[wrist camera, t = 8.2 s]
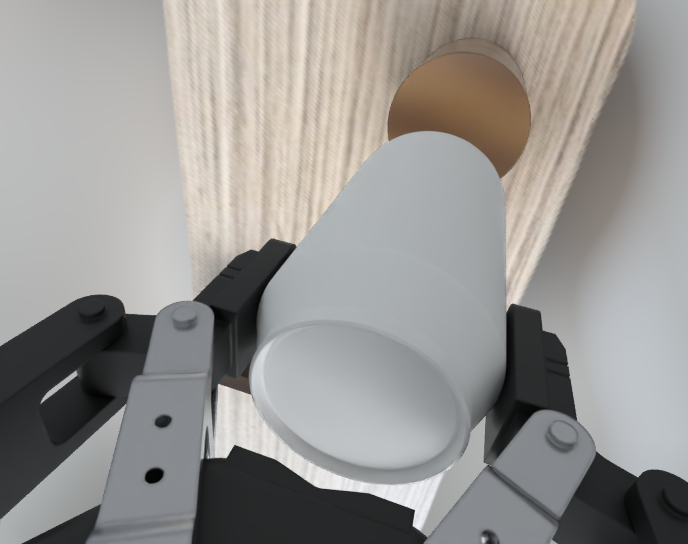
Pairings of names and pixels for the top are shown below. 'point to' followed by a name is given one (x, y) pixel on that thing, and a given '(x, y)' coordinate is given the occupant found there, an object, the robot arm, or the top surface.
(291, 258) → the beverage can
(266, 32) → the top surface
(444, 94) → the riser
